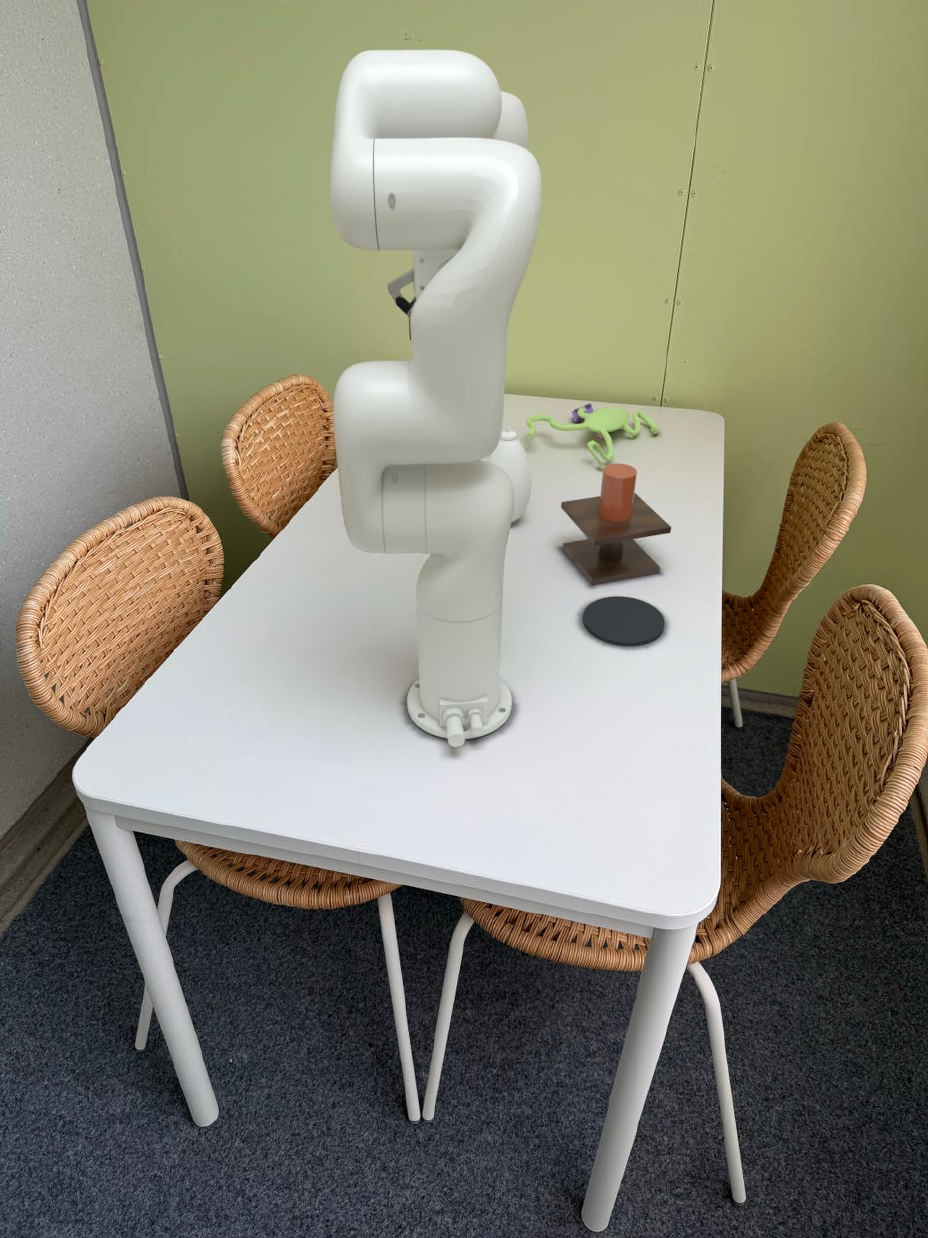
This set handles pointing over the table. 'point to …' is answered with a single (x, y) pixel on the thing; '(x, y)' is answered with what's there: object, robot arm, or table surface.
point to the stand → (612, 541)
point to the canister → (617, 492)
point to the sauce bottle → (514, 468)
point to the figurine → (597, 425)
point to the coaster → (623, 621)
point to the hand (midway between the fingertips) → (451, 343)
